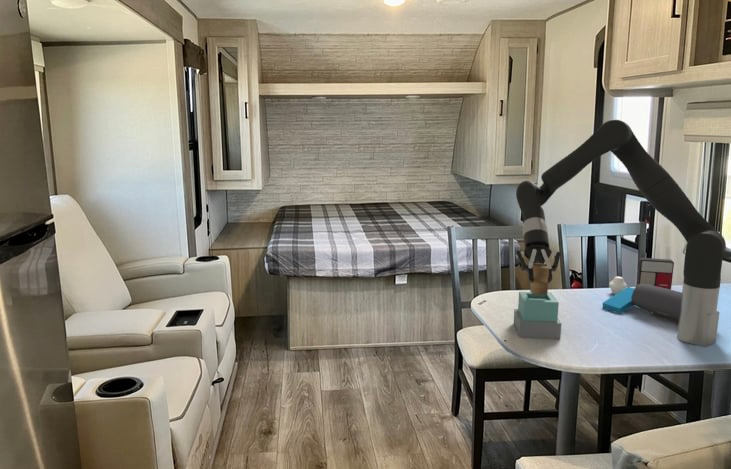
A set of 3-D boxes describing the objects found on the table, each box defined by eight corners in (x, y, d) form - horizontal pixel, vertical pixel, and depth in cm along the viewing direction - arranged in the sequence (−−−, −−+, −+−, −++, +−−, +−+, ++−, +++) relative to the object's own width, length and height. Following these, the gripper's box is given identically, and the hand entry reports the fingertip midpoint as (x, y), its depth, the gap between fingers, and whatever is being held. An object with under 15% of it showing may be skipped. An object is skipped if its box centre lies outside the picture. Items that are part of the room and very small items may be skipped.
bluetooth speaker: (711, 327, 174) (715, 297, 172) (695, 332, 170) (699, 301, 168) (645, 307, 194) (648, 280, 192) (629, 311, 189) (631, 283, 187)
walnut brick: (544, 290, 170) (546, 264, 169) (547, 294, 166) (549, 267, 164) (529, 290, 171) (531, 263, 169) (532, 294, 167) (534, 267, 165)
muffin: (624, 297, 205) (625, 279, 204) (606, 294, 209) (608, 276, 208) (627, 293, 210) (629, 275, 209) (610, 290, 214) (612, 273, 212)
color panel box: (637, 299, 203) (641, 260, 200) (635, 295, 207) (639, 257, 204) (670, 302, 200) (674, 262, 197) (667, 298, 204) (671, 259, 201)
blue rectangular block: (621, 326, 189) (653, 304, 196) (619, 308, 186) (652, 287, 194) (604, 320, 194) (636, 299, 202) (602, 302, 192) (634, 282, 200)
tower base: (551, 325, 176) (553, 291, 174) (560, 339, 164) (562, 303, 162) (513, 323, 177) (515, 290, 175) (519, 337, 166) (521, 302, 163)
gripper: (514, 227, 173) (518, 274, 163) (560, 228, 171) (567, 276, 162) (511, 240, 179) (514, 286, 170) (555, 241, 177) (562, 288, 168)
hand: (540, 281), depth 166 cm, fingers closed on walnut brick, 4 cm apart
